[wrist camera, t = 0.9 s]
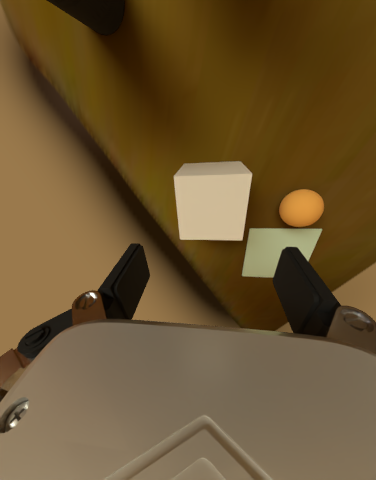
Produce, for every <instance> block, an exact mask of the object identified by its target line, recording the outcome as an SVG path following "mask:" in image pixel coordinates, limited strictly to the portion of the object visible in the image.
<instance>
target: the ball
mask: <svg viewBox="0 0 376 480" xmlns="http://www.w3.org/2000/svg"><path fill="white" fill-rule="evenodd" d="M323 210H324V202H323V199H322V198H321V196H320V195H319V194H317V193H316V192H314V191H312V190H307V189H301V190H296V191H293V192H291V193H289V194H288V195H287V196H286V197H285V198H284V199H283V200H282V202H281V204H280V207H279V213H280V216H281V218H282V220H283V221H284V222H285V223H287V224H288V225H291V226H294V227H304V226H308V225H311V224H313V223H314V222H316V221H317V220H318V219H319V218H320V217H321V215H322V213H323Z"/></svg>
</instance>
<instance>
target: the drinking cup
mask: <svg viewBox="0 0 376 480" xmlns="http://www.w3.org/2000/svg"><path fill="white" fill-rule="evenodd" d="M47 1H49V2H50V3H52V4H54V5H55V6H57V7H58V8H60V9H61V10H63V11H65V12H66V13H68V14H69V15H71V16H72V17H74V18H76V19H77V20H79V21H80V22H82V23H83V24H85V25H87V26H88V27H90V28H91V29H93V30H94V31H96V32H98V33H100V34H103V35H109V34H112V33H114V32H115V31H116V30H117V29H118V28H119V26H120V24H121V22H122V19H123V14H124V0H47Z"/></svg>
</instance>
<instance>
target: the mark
mask: <svg viewBox="0 0 376 480" xmlns="http://www.w3.org/2000/svg"><path fill="white" fill-rule="evenodd" d="M321 231H322V229H286V228H250V229H249V235H248V241H247V247H246V253H245V259H244V265H243V271H242V276H251V277H274V274H275V271H276V267H277V264H278V261H279V258H280V255H281V252H282V249H285V248H286V247H297V248H298V249H299V250H300V251H301V253H302V254H303V255H304V257H305V258H306V259H307V261H309V258H310V256H311V254H312V252H313V249H314V247H315V245H316V243H317V240H318V238H319V236H320V234H321Z"/></svg>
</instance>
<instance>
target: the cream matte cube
mask: <svg viewBox="0 0 376 480" xmlns="http://www.w3.org/2000/svg"><path fill="white" fill-rule="evenodd" d="M251 179H252V173H251V172H250V171H249V170H248V169H247V168H246V167H245V166H244V164H243V163H242V162H241V161H234V162H212V163H189V164H184V165H183V166H182V167H181V168H180V169H179V171H178V172H177V173H176V174H175V176H174V183H175V193H176V203H177V213H178V223H179V233H180V239H185V240H243V233H244V226H245V219H246V213H247V206H248V199H249V192H250V185H251Z"/></svg>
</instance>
